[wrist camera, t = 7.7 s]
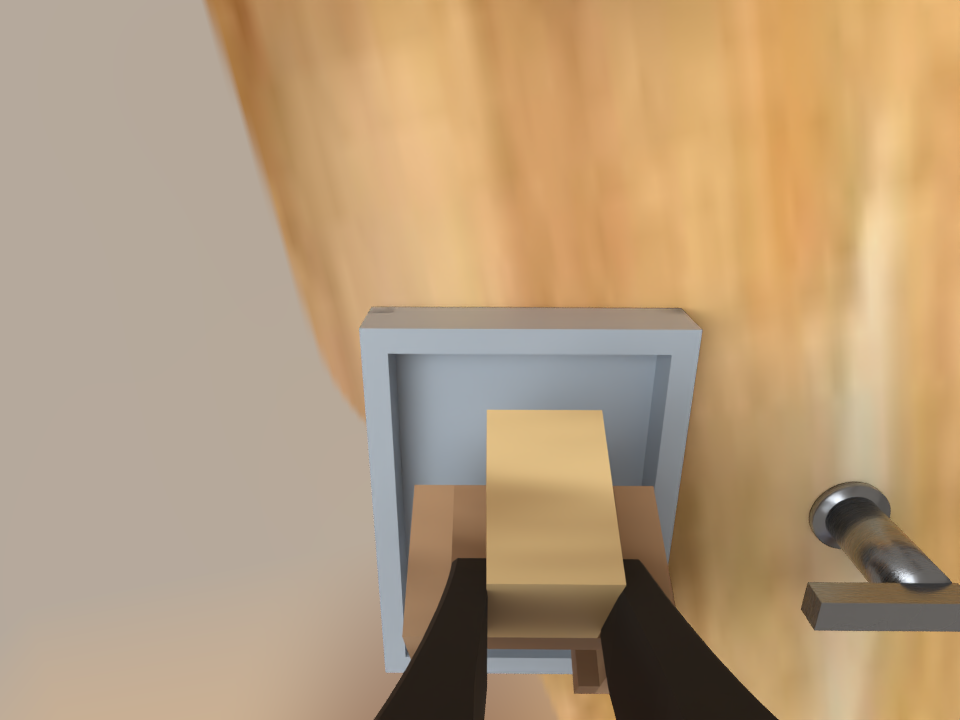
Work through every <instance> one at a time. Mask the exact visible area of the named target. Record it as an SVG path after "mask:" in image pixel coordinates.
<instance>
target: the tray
mask: <svg viewBox="0 0 960 720" xmlns="http://www.w3.org/2000/svg"><path fill="white" fill-rule="evenodd" d="M359 332H360V345H361V358H362V371H363V384H364V397H365V410H366V423H367V436H368V450H369V463H370V475H371V488H372V502H373V515H374V528H375V540H376V552H377V566H378V580H379V593H380V606H381V619H382V631H383V645H384V658H385V671H386V672H390V673H391V672H392V673H395V672H396V673H404V671H405V670H406V668H407V666H408V664H409V662H410V661H411V659H410V656H409V653H408V651H407V648H406V645H405V643H404V640H403V637H402V633H403V621H404V608H405V596H406V584H407V571H408V559H409V547H410V535H411V522H412V510H413V498H414V485H486V438H487V410H602V413H603V420H604V428H605V435H606V442H607V449H608V457H609V464H610V471H611V478H612V485H613V486H653V487H654V493H655V498H656V504H657V509H658V515H659V520H660V525H661V531H662V536H663V542H664V547H665V553H666V558H667V564H668V562H669V555H670V549H671V542H672V535H673V528H674V521H675V514H676V507H677V501H678V494H679V487H680V480H681V473H682V466H683V459H684V453H685V446H686V439H687V432H688V425H689V418H690V411H691V405H692V398H693V391H694V384H695V377H696V370H697V363H698V357H699V350H700V343H701V336H702V329H701V328H700V327H699V326H698V325H697V324H696V323H695V322H694V321H693V320H692V319H691V318H690V317H689V316H688V315H687V314H686V313H685V312H684V311H683V310H682V309H681V308H503V307H371V309H370V311H369V312H368V314H367V316H366V318H365V319H364V321H363V323H362V324H361V326H360V328H359ZM487 673H506V674H507V673H508V674H509V673H514V674H519V673H520V674H573V672H572V660H571V650H545V649H487Z"/></svg>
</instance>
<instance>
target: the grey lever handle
mask: <svg viewBox="0 0 960 720" xmlns="http://www.w3.org/2000/svg"><path fill="white" fill-rule="evenodd" d="M890 512H891V510H890V505H889V502H888V500H887V498H886V497H885V496H884V495H883V494H882V493H881V492H880V491H879V490H878V489H877V488H875V487H874V486H872V485H870V484H867V483H862V482H848V483H843V484H840V485H837V486H835V487H832V488H830V489H829V490H827V491H826V492H824V493H823V494H822V495H821V496H820V497H819V498H818V499H817V500H816V501H815V503H814V505H813V506H812V508H811V511H810V516H809V523H810V527H811V529H812V531H813V532H814V534H815V535H816V536H817V537H818V539H819V540H820V541H821V542H822V543H824V544H826V545H828V546H830V547H833V548H838V549H842V550H843V551H844V552H845V553H846V555H847V556H848V557H849V558H850V560H851V561H852V562H853V563H854V565H855V566H856V567H857V568H858V570H859V571H860V572H861V573H862V574H863V576H864V577H865V578H866V579H867V581H868V582H869V583H831V582H808V584H807V588H806V591H805V595H804V599H803V603H802V607H801V610H802V612H803V613H804V615H805V616H806V618H807V619H808V621H809V623H810V624H811V626H812V627H813V629H814V630H831V631H955V632H960V585H959V584H958V583H952V582H951V581H950V579H949V578H948V577H947V576H946V575H945V574H944V573H943V572H942V571H941V570H940V569H939V568H938V567H937V566H936V565H935V564H934V563H933V562H932V561H931V560H930V559H929V558H928V557H927V556H926V555H925V554H924V553H923V552H922V551H921V550H920V549H919V548H918V547H917V546H916V545H915V544H914V543H913V542H912V541H911V540H910V539H909V538H908V537H907V536H906V535H905V534H904V533H903V532H902V531H901V530H900V529H899V528H898V527H897V526H896V525H895V524H894V522H893V521H892V520H891V519H890Z"/></svg>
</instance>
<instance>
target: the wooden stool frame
mask: <svg viewBox="0 0 960 720" xmlns="http://www.w3.org/2000/svg"><path fill="white" fill-rule="evenodd" d="M457 558H486V590H487V595H488V622H487V649H545V650H571V660H572V672H573V685H574V693H578V694H610V693H609V689H608V684H607V678H606V671H605V665H604V658H603V652H602V645H601V638H600V634H601V628H602V627H603V625H604V623H605V621H606V619H607V617H608V615H609V614H610V612H611V610H612V608H613V606H614V604H615V602H616V601H617V599H618V597H619V595H620V594H621V593H622V591H623V590H624V588H625V586H626V579H625V572H624V565H623V559H639V560H640V561H641V562H642V563H643V564H644V566H645V567H646V569H647V570H648V571H649V573H650V574H651V575H652V577H653V578H654V580H655V581H656V582H657V584H658V585H659V586H660V588H661V589H662V590H663V592H664V593H665V594H666V596H667V597H668V598H669V599H670V601H671V602H672V603H673V605H674V606H675V602H674V596H673V591H672V585H671V580H670V575H669V569H668V564H667V558H666V553H665V547H664V542H663V536H662V531H661V525H660V520H659V515H658V509H657V504H656V498H655V493H654V487H653V486H613V485H612V478H611V471H610V464H609V457H608V449H607V442H606V435H605V428H604V420H603V413H602V410H487V438H486V485H414V498H413V510H412V522H411V535H410V547H409V559H408V571H407V584H406V596H405V608H404V621H403V633H402V637H403V640H404V643H405V645H406V648H407V651H408V653H409V656H410V659H412V657H413V655H414V653H415V652H416V650H417V648H418V646H419V644H420V642H421V640H422V638H423V636H424V634H425V632H426V630H427V628H428V626H429V624H430V622H431V619H432V617H433V615H434V613H435V611H436V609H437V606H438V604H439V601H440V599H441V596H442V594H443V591H444V589H445V586H446V583H447V580H448V577H449V573H450V569H451V564H452V562H453V561H454V560H456V559H457Z"/></svg>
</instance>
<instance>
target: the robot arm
mask: <svg viewBox="0 0 960 720" xmlns="http://www.w3.org/2000/svg"><path fill="white" fill-rule="evenodd" d="M623 565H624V572H625V579H626V586H625V588H624V590H623V591H622V593H621V594H620V595H619V597H618V599H617V601H616V602H615V604H614V606H613V608H612V610H611V612H610V614H609V615H608V617H607V619H606V621H605V623H604V625H603V627H602V628H601V634H600V638H601V645H602V652H603V658H604V665H605V671H606V678H607V684H608V689H609V693H610V697H611V701H612V705H613V709H614V713H615V716H616V720H778V719H777V718H776V717H775V716H774V715H773V714H772V713H771V712H770V711H769V710H768V709H767V708H766V707H764V706H763V705H762V704H761V703H760V702H759V701H758V700H757V699H756V698H755V697H754V696H753V695H752V694H751V693H750V692H749V691H748V690H747V689H746V687H745V686H744V685H743V684H742V683H741V682H740V681H739V680H738V679H737V678H736V677H735V676H734V675H733V674H732V673H731V672H730V671H729V669H728V668H727V667H726V666H725V665H724V664H723V663H722V662H721V661H720V660H719V659H718V657H717V656H716V655H715V654H714V653H713V652H712V651H711V650H710V648H709V647H708V646H707V645H706V644H705V642H704V641H703V640H702V639H701V638H700V637H699V635H698V634H697V633H696V632H695V631H694V629H693V628H692V627H691V626H690V625H689V623H688V622H687V621H686V620H685V619H684V617H683V616H682V615H681V614H680V612H679V611H678V610H677V609H676V607H675V606H674V605H673V603H672V602H671V601H670V599H669V598H668V597H667V596H666V594H665V593H664V592H663V590H662V589H661V588H660V586H659V585H658V584H657V582H656V581H655V580H654V578H653V577H652V575H651V574H650V573H649V571H648V570H647V569H646V567H645V566H644V564H643V563H642V562H641V561H640V560H639V559H623ZM487 622H488V595H487V590H486V558H457V559H456V560H454V561H453V562H452V564H451V569H450V573H449V577H448V580H447V583H446V586H445V589H444V591H443V594H442V596H441V599H440V601H439V604H438V606H437V609H436V611H435V613H434V615H433V617H432V619H431V622H430V624H429V626H428V628H427V630H426V632H425V634H424V636H423V638H422V640H421V642H420V644H419V646H418V648H417V650H416V652H415V653H414V655H413V657H412V659H411V661H410V662H409V664H408V666H407V668H406V670H405V671H404V673H403V675H402V677H401V678H400V680H399V682H398V683H397V685H396V687H395V688H394V690H393V691H392V693H391V695H390V696H389V698H388V699H387V701H386V703H385V704H384V705H383V707H382V709H381V710H380V711H379V713H378V714H377V716H376V717H375V719H374V720H484V714H485V704H486V692H487Z"/></svg>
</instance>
